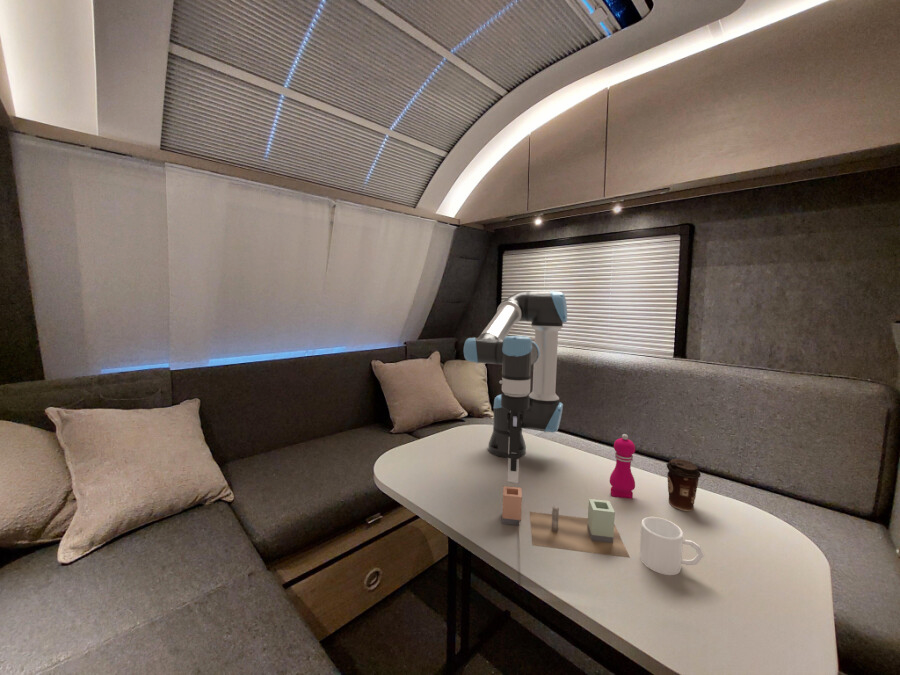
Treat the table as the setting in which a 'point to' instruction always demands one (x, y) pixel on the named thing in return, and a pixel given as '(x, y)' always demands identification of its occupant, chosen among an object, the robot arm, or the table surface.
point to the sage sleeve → (601, 520)
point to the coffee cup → (682, 483)
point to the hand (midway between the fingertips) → (512, 469)
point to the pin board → (571, 534)
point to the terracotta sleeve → (511, 505)
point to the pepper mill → (623, 469)
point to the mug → (664, 546)
